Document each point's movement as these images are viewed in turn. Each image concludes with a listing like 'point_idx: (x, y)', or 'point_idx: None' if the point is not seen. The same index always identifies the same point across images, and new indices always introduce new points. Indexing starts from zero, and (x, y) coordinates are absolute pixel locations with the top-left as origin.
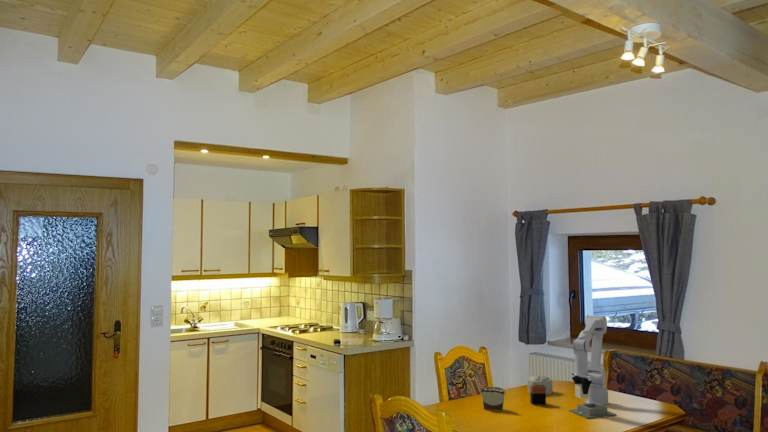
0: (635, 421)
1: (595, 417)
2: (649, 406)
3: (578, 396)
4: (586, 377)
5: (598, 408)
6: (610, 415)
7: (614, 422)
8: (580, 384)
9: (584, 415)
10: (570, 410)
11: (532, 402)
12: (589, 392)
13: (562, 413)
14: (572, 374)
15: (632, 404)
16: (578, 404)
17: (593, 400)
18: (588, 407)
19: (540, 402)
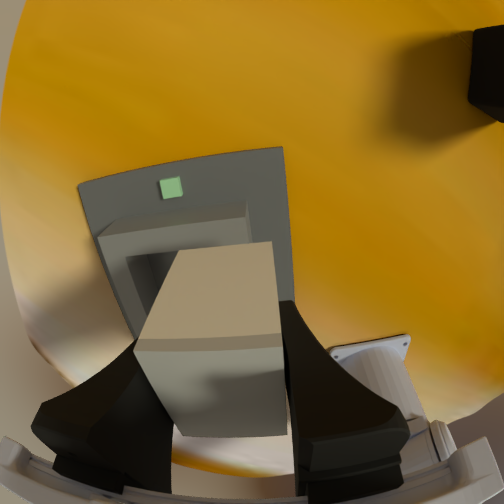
0: (67, 354)
1: (96, 236)
2: (252, 457)
3: (213, 253)
4: (20, 476)
5: (124, 302)
6: (130, 325)
7: (39, 279)
8: (231, 393)
9: (119, 185)
10: (264, 150)
11: (485, 29)
12: (387, 392)
13: (236, 67)
14: (459, 460)
15: (291, 443)
16: (236, 223)
17: (354, 369)
18: (134, 250)
19: (478, 67)
